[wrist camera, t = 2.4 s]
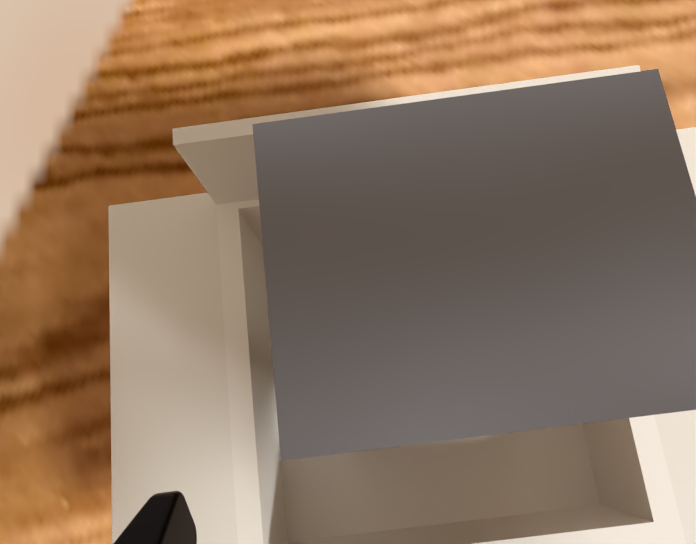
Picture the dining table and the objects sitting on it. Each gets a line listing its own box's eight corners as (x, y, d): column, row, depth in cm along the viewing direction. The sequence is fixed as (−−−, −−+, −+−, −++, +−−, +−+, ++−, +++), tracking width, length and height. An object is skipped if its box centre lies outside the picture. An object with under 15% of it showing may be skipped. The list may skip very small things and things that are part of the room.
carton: (766, 666, 16) (1073, 852, 9) (177, 733, 17) (19, 963, 9) (636, 186, 20) (779, 45, 13) (160, 248, 20) (37, 146, 13)
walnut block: (513, 423, 18) (757, 401, 6) (346, 444, 18) (280, 461, 6) (489, 293, 19) (657, 68, 7) (331, 313, 19) (252, 123, 7)
